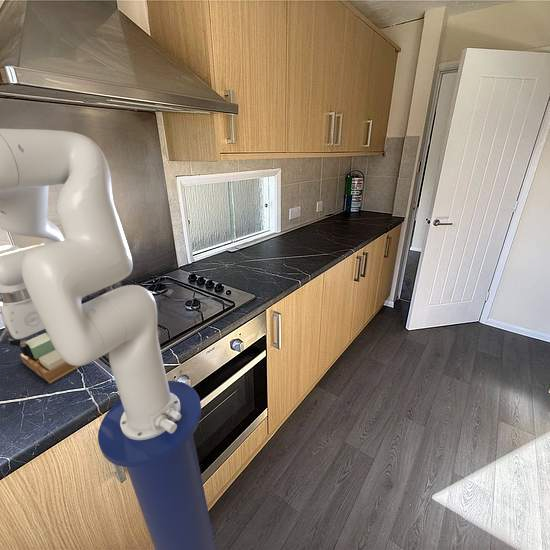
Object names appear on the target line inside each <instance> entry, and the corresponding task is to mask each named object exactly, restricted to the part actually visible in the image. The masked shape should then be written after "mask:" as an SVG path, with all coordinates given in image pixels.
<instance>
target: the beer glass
mask: <svg viewBox="0 0 550 550" xmlns="http://www.w3.org/2000/svg"><path fill="white" fill-rule="evenodd" d="M123 286H124V285H123V280H121V281H119V282H117V283H115V284H113V285H110V286H108V287H106V288H103V289H102V291H103V294H105V293H107V292H109V291H112V290H114V289H117V288H119V287H123Z"/></svg>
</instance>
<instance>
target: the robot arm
mask: <svg viewBox="0 0 550 550" xmlns="http://www.w3.org/2000/svg"><path fill="white" fill-rule="evenodd" d="M56 185H63V186H62V187H61V189H60V192H59V195H58V198H57V202H56V215H57V217H58V220H59V222H60V225H61V227H62V230H63V233H64V234H63V233H62V232H61V229H59V228H58V227H57V225H56V224H55V223H53V222H52V221H50V220H49V219H48V209H49V208H48V207H49V190H50V189H49V188H50V186H56ZM0 229H1V230H2V231H4V232H7V233H10V234H13V235H17V236H24V237H31V238H40V239H43V242H42V243H40V244H36V245H31V246H27V247H23V248H21V247H19V246H18V245H12V244H11V245H10V244H8V245H7V244H6V245H0V316H1V319H2V321H3V325H4V329H3V331H2V332H1V334H0V344H1V345H10V346H13V347H19V349H20V351H21V354H22V353H23V355H24V356H28V357H30V358H32V357H33V354H32V352H31V349H30V347H29V345H28V344H26V341H27V338H28V337H30V336H32V335H35V334H37V333H39V332H41V331H46V332H45V333H46V334H48V336H49V338H50V340H51V342H52V344H53V346H54V348H55V350H56V351H57V353H58V354H59V355H60V357H61V358H62V359H63V360H64V361H65V362H67V363H68V364H70V365H73V366H80V367H82V366H86V365H89V364H92V363H93V362H95V361H97V360H98V359H100V358H101V357H104V356H106V354H108V361H109V366H110V369H111V373H112V376H113V380H114V382H115V385H116V389H117V392H118V395H119V399H121V401H122V405H123V408H124V413H123V415H122V417H121V420H120V426H121V430H122V432H123V434H124V435H125V436H126V437H128V438H130V439H133V440H147V439H150V438H154V437H156V436H158V435H160V434H162V433H163V432H165V431H167V432H169V433H171V434H172V433H173V432H175V430H176V428H177V425H176V424H175V421H176V420H177V421H178V420H179V419H180V418H181V414H180V410H181V406H180V401H179V399H178V397H177V396H176V395H174V394H173V393H170V390H169V386H168V381H169V380H168V376H167V373H166V369H165V364H164V360H163V355H162V350H161V344H160V339H159V332H158V307H157V302H156V299H155V297H154V296H153V294H152V292H150V291H149V290H148V289H147V288H145V287H144V286H141V285H137V284H127V285H123V287H119V288H117V289H114V290H112V291H109V292H107V293H103V294H101V295H99V296H96V297H94V298H93V299H90V300H88V301H86V302H83V303H82V300H83V298H85V297H88V296H90V295H93V294H94V293H97V292H99V291H101V290H103V288H106V287H108V286H110V285H113V284H115V283H117V282H119V281H121V280H122V281H123V280H125V279H126V278H128V277H129V276H130V275H131V273H132V272H133V267H134V263H133V258H132V254H131V251H130V248H129V244H128V241H127V239H126V235H125V232H124V229H123V226H122V223H121V220H120V217H119V214H118V211H117V208H116V205H115V201H114V196H113V187H112V177H111V171H110V167H109V163H108V161H107V158H106V155H105V154H104V152H103V150H102V149H101V148H100V146H99V145H98V144H97V142H95V141H94V140H93V139H91V138H90V137H89V136H86V135H84V134H81V133H78V132H74V131H67V130H56V129H54V130H53V129H37V128H36V129H34V128H33V129H32V128H31V129H30V128H29V129H24V128H23V129H22V128H21V129H20V128H19V129H18V128H0ZM10 336H11V337H12V338H10Z"/></svg>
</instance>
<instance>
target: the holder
mask: <svg viewBox="0 0 550 550" xmlns="http://www.w3.org/2000/svg"><path fill="white" fill-rule="evenodd" d="M19 356H20V360H21V361H22V363H23V364H24V365H25V366H26V367H28V368H29V369H30V370H32V371H33V372H34V373H36V374H37V375H38V376H39V377H41V378H42V379H44V380H45V381H46V382H47V383H49V384H52V383H54V382H55V381H57V380H59V379H60V378H62V377H64V376H66V375H68V374H69V373H72V372H73V371H75V370H76V369H78V368H80V367H81V366H73V365H70V364H68V363H67V362H65V363H63V364H61V365H59V366H57V367H55V368H53V369H52V370H50V371H47V370H46V369H44V368H43V367H42V365H41V363H40V360H39V358H38V359H35V358H34V357H32V358H30V357H28V356H24V355H23V353H22V352H21V353H19Z"/></svg>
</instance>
